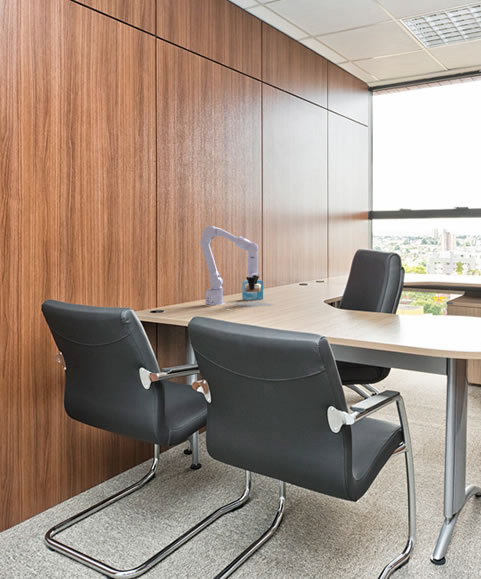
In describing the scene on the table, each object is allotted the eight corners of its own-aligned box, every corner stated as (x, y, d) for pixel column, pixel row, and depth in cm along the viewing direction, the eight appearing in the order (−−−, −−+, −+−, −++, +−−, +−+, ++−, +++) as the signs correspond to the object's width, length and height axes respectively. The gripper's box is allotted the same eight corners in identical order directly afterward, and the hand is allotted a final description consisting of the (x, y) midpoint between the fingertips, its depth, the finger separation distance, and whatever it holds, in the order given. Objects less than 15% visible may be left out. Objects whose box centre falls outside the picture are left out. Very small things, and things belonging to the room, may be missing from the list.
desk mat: (248, 308, 295) (248, 307, 295) (230, 304, 309) (230, 303, 309) (274, 305, 305) (274, 304, 305) (256, 302, 319) (256, 301, 319)
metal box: (244, 291, 306) (244, 284, 305) (246, 290, 310) (246, 283, 310) (259, 292, 304) (259, 284, 304) (260, 291, 309) (260, 284, 308)
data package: (245, 301, 324) (245, 281, 323) (242, 300, 328) (242, 280, 327) (263, 300, 330) (263, 280, 329) (259, 299, 334) (259, 279, 333)
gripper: (257, 265, 298) (257, 290, 299) (262, 264, 312) (262, 288, 313) (244, 265, 299) (244, 290, 301) (250, 264, 313) (249, 287, 315)
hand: (252, 289), depth 307 cm, fingers closed on metal box, 5 cm apart
